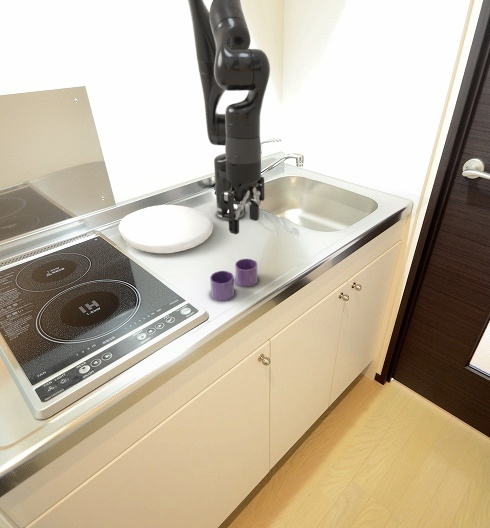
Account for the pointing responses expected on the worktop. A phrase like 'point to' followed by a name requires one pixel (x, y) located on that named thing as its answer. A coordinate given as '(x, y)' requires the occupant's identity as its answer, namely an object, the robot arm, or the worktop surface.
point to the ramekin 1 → (222, 285)
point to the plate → (165, 228)
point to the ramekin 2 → (246, 272)
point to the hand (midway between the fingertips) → (244, 226)
